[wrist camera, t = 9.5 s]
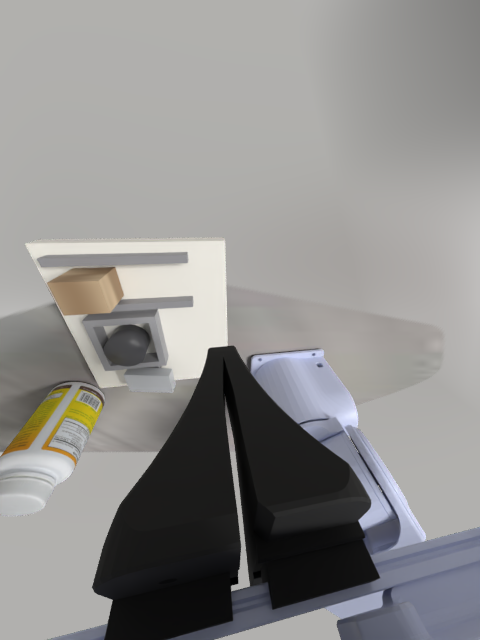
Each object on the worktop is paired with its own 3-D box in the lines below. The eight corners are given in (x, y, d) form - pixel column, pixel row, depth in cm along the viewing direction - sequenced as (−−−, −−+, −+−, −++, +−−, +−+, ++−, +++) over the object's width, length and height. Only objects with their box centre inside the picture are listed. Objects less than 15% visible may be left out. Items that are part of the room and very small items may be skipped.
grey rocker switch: (172, 368, 20) (168, 376, 19) (175, 384, 21) (172, 392, 21) (128, 367, 20) (123, 374, 19) (134, 383, 21) (130, 391, 21)
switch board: (223, 237, 17) (226, 244, 15) (227, 365, 25) (229, 383, 23) (39, 239, 15) (8, 247, 13) (105, 377, 23) (94, 399, 21)
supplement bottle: (51, 406, 24) (-33, 522, 16) (53, 374, 22) (-43, 490, 13) (103, 412, 26) (54, 519, 18) (110, 384, 24) (58, 491, 15)
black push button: (146, 323, 18) (140, 336, 17) (153, 350, 20) (148, 364, 18) (107, 325, 18) (98, 339, 16) (118, 353, 19) (110, 368, 18)
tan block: (115, 267, 16) (98, 280, 13) (124, 295, 17) (110, 312, 14) (72, 268, 15) (46, 282, 13) (85, 297, 16) (63, 315, 14)
